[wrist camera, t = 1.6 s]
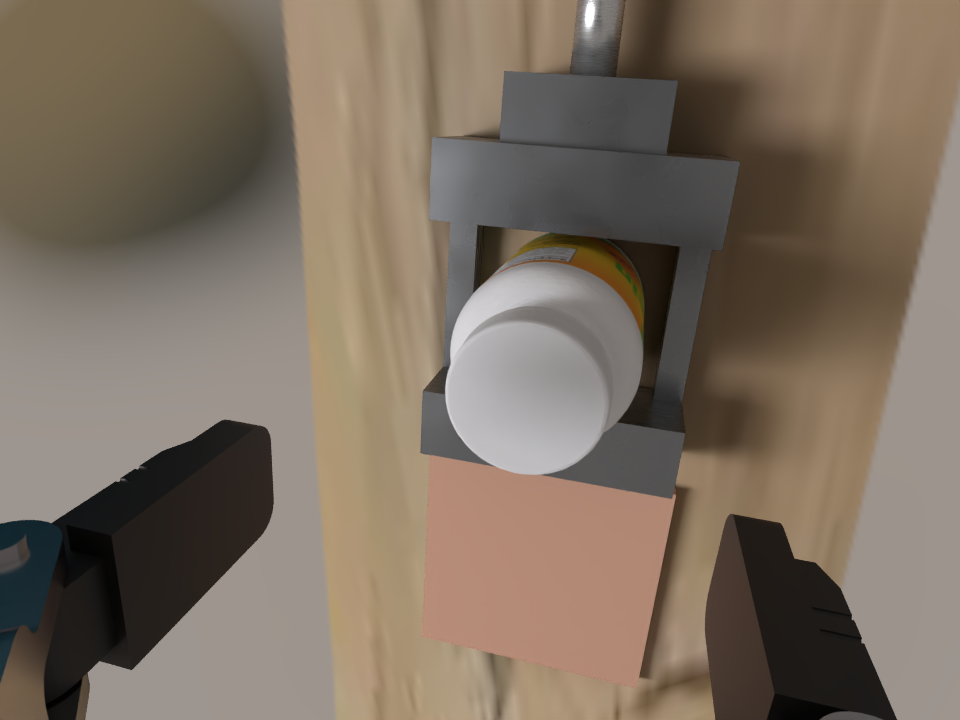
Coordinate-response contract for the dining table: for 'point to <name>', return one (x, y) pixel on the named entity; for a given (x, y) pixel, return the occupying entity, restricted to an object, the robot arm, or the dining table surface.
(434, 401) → the bench vise
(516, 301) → the supplement bottle
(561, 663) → the terracotta tile
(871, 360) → the dining table surface
